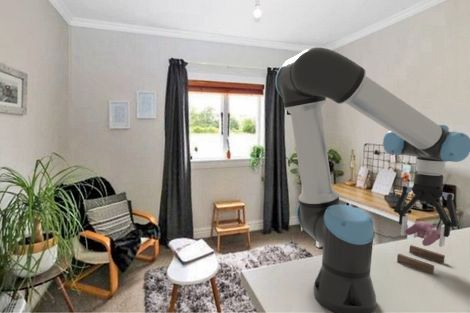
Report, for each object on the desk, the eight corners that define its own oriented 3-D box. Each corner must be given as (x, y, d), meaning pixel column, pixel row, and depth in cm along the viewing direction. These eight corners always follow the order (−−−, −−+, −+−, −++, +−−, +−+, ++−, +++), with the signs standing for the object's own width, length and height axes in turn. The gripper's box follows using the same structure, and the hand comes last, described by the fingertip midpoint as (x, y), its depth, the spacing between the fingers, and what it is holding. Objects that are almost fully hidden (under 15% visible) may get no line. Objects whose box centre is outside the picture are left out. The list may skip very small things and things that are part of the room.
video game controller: (434, 251, 88) (447, 232, 87) (422, 245, 88) (435, 226, 87) (414, 238, 98) (424, 220, 97) (403, 232, 98) (413, 215, 97)
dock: (432, 274, 86) (433, 266, 86) (397, 261, 94) (397, 254, 93) (444, 262, 94) (444, 255, 93) (410, 251, 101) (411, 244, 101)
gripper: (478, 178, 84) (468, 249, 86) (395, 167, 101) (389, 226, 104) (472, 180, 79) (462, 256, 82) (386, 169, 96) (380, 231, 99)
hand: (421, 239), depth 93 cm, fingers closed on video game controller, 10 cm apart
